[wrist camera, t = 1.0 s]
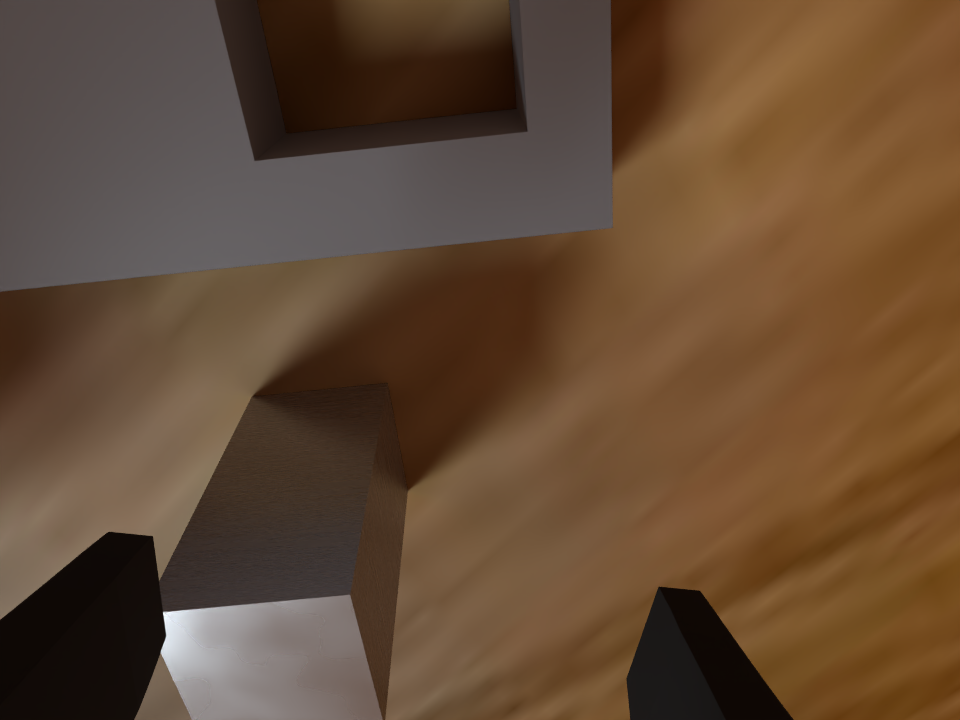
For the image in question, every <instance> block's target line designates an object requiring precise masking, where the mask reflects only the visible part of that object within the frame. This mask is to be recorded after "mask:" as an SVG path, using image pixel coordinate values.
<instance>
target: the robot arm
mask: <svg viewBox="0 0 960 720" xmlns="http://www.w3.org/2000/svg"><path fill="white" fill-rule="evenodd" d="M165 639H166V629H165V622H164V614H163V607H162V600H161V592H160V585H159V578H158V570H157V563H156V556H155V548H154V541H153V536H145V535H135V534H125V533H115V532H108V533H106V534H105V535H104V536H102V537H101V538H100V539H99V540H97V541H96V542H95V543H94V544H92V545H91V546H90V547H89V548H87V549H86V550H85V551H84V552H82V553H81V554H80V555H79V556H78V557H76V558H75V559H74V560H73V561H71V562H70V563H69V564H68V565H67V566H65V567H64V568H63V569H62V570H61V571H59V572H58V573H57V574H56V575H55V576H53V577H52V578H51V579H50V580H49V581H47V582H46V583H45V584H44V585H42V586H41V587H40V588H39V589H38V590H36V591H35V592H34V593H33V594H31V595H30V596H29V597H28V598H27V599H25V600H24V601H23V602H22V603H20V604H19V605H18V606H17V607H16V608H14V609H13V610H12V611H11V612H9V613H8V614H7V615H6V616H4V617H3V618H2V619H1V620H0V720H134V719H135V717H136V715H137V712H138V710H139V708H140V706H141V703H142V700H143V698H144V695H145V693H146V690H147V688H148V685H149V682H150V680H151V677H152V675H153V672H154V669H155V666H156V664H157V661H158V658H159V655H160V653H161V650H162V647H163V644H164V642H165ZM627 689H628V699H629V710H630V720H793V718H792V717H791V716H790V714H789V713H788V712H787V711H786V709H785V708H784V707H783V705H782V704H781V703H780V701H779V700H778V699H777V697H776V696H775V695H774V693H773V692H772V690H771V689H770V688H769V686H768V685H767V684H766V682H765V681H764V680H763V678H762V677H761V675H760V674H759V673H758V671H757V670H756V668H755V667H754V666H753V664H752V663H751V662H750V660H749V659H748V657H747V656H746V655H745V653H744V652H743V650H742V649H741V648H740V646H739V645H738V643H737V642H736V640H735V639H734V638H733V636H732V635H731V633H730V632H729V631H728V629H727V628H726V626H725V625H724V624H723V622H722V621H721V619H720V618H719V616H718V615H717V614H716V612H715V611H714V609H713V608H712V607H711V605H710V604H709V602H708V601H707V600H706V598H705V597H704V596H703V594H702V593H701V592H700V591H697V590H687V589H677V588H667V587H658V590H657V593H656V596H655V599H654V602H653V604H652V607H651V610H650V613H649V616H648V619H647V622H646V624H645V627H644V630H643V633H642V636H641V639H640V642H639V645H638V647H637V650H636V653H635V656H634V659H633V662H632V665H631V667H630V670H629V673H628V676H627Z"/></svg>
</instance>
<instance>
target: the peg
mask: <svg viewBox="0 0 960 720" xmlns="http://www.w3.org/2000/svg"><path fill="white" fill-rule="evenodd" d="M407 494H408V489H407V484H406V479H405V473H404V468H403V463H402V457H401V452H400V447H399V441H398V436H397V431H396V425H395V420H394V415H393V409H392V404H391V399H390V393H389V388H388V383H384V384H374V385H364V386H354V387H344V388H334V389H324V390H314V391H303V392H293V393H283V394H273V395H263V396H253V397H251V399H250V401H249V403H248V405H247V407H246V409H245V411H244V413H243V415H242V417H241V419H240V421H239V423H238V425H237V427H236V429H235V431H234V433H233V435H232V437H231V439H230V441H229V443H228V445H227V447H226V449H225V451H224V453H223V455H222V457H221V459H220V461H219V463H218V465H217V467H216V469H215V471H214V473H213V475H212V477H211V479H210V481H209V483H208V485H207V487H206V489H205V491H204V493H203V495H202V497H201V499H200V501H199V503H198V505H197V507H196V509H195V511H194V513H193V515H192V517H191V519H190V521H189V523H188V525H187V527H186V529H185V531H184V533H183V535H182V537H181V539H180V541H179V543H178V545H177V547H176V549H175V551H174V553H173V555H172V557H171V559H170V561H169V563H168V565H167V567H166V569H165V571H164V573H163V575H162V577H161V579H160V581H159V585H160V592H161V600H162V607H163V614H164V622H165V629H166V639H165V642H164V644H163V647H162V650H161V654H162V656H163V658H164V661H165V663H166V665H167V667H168V669H169V671H170V673H171V676H172V678H173V680H174V682H175V684H176V686H177V688H178V691H179V693H180V695H181V697H182V699H183V701H184V703H185V706H186V708H187V710H188V712H189V714H190V716H191V718H192V720H385V716H386V706H387V696H388V686H389V675H390V665H391V655H392V645H393V635H394V625H395V615H396V605H397V595H398V585H399V575H400V565H401V555H402V545H403V534H404V524H405V514H406V504H407Z"/></svg>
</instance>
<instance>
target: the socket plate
mask: <svg viewBox="0 0 960 720" xmlns="http://www.w3.org/2000/svg"><path fill="white" fill-rule="evenodd" d="M509 5H510V19H511V34H512V48H513V62H514V77H515V91H516V105H517V109H510V110H500V111H491V112H482V113H473V114H463V115H454V116H445V117H436V118H426V119H417V120H408V121H399V122H389V123H380V124H371V125H362V126H352V127H343V128H334V129H324V130H315V131H306V132H297V133H287V134H286V130H285V125H284V121H283V116H282V112H281V107H280V103H279V98H278V94H277V89H276V85H275V81H274V76H273V72H272V67H271V63H270V58H269V54H268V49H267V45H266V40H265V36H264V31H263V27H262V22H261V18H260V13H259V9H258V4H257V0H0V292H1V291H11V290H21V289H30V288H40V287H49V286H59V285H69V284H78V283H88V282H97V281H107V280H117V279H126V278H136V277H146V276H155V275H165V274H174V273H184V272H194V271H203V270H213V269H222V268H232V267H242V266H251V265H261V264H270V263H280V262H290V261H299V260H309V259H319V258H328V257H338V256H347V255H357V254H367V253H376V252H386V251H395V250H405V249H415V248H424V247H434V246H443V245H453V244H463V243H472V242H482V241H492V240H501V239H511V238H520V237H530V236H540V235H549V234H559V233H568V232H578V231H588V230H597V229H607V228H613V213H612V88H611V0H509Z"/></svg>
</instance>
